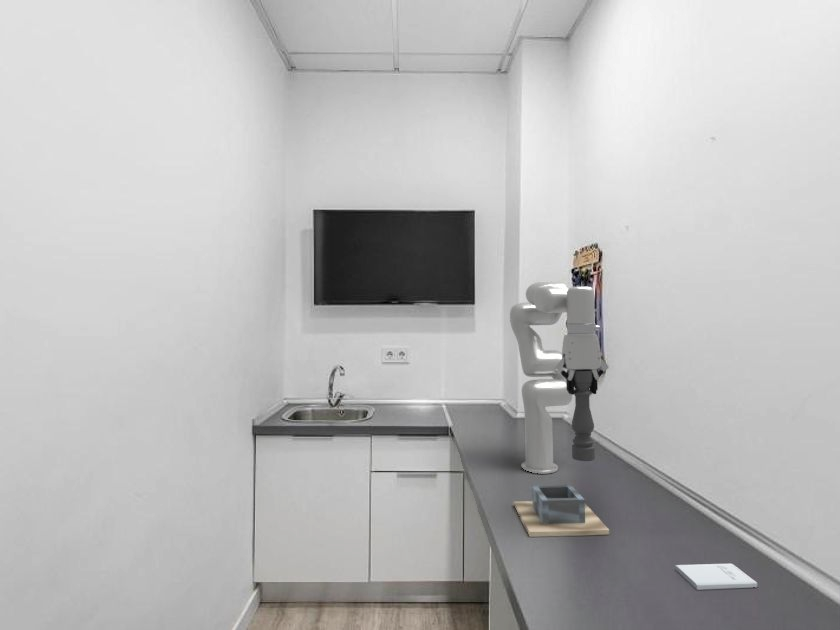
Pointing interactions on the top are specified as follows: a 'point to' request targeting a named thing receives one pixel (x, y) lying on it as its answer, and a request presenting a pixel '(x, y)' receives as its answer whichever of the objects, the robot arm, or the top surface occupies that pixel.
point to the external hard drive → (715, 576)
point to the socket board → (558, 513)
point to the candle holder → (582, 417)
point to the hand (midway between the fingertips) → (582, 392)
